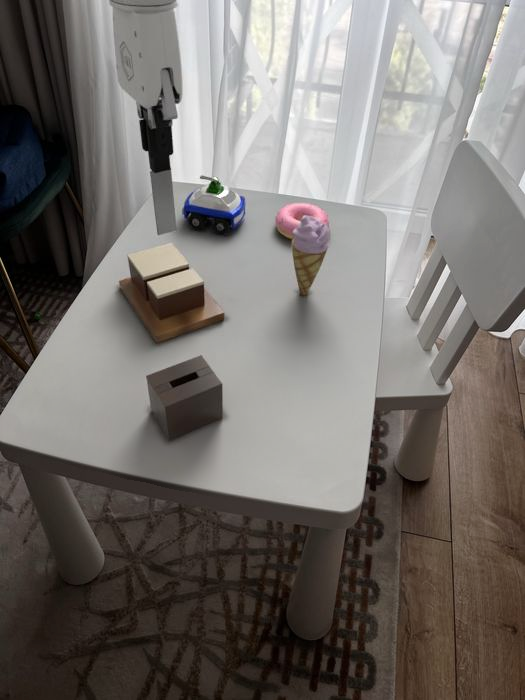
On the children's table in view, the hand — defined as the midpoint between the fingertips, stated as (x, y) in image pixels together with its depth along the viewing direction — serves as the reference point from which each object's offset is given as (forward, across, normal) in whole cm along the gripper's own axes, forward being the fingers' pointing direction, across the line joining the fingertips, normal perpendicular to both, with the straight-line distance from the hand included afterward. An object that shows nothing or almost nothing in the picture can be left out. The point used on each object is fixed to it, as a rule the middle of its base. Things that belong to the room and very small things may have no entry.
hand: (157, 151), depth 71 cm
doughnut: (+27, -10, +33) cm, 44 cm away
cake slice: (+25, +2, 0) cm, 25 cm away
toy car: (+27, -21, +19) cm, 39 cm away
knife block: (+27, +22, -8) cm, 36 cm away
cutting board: (+27, -1, 0) cm, 27 cm away
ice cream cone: (+27, +7, +22) cm, 36 cm away
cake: (+25, -5, 0) cm, 26 cm away
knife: (+13, 0, 0) cm, 13 cm away
